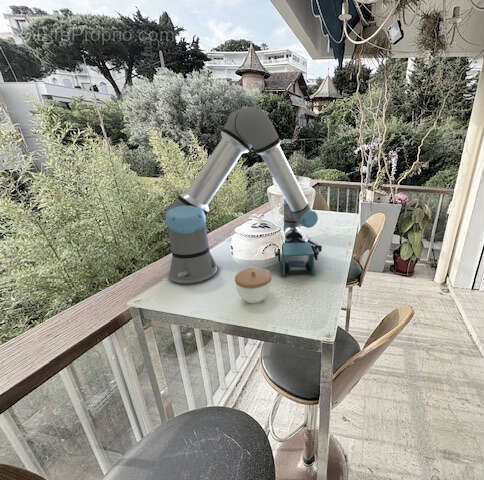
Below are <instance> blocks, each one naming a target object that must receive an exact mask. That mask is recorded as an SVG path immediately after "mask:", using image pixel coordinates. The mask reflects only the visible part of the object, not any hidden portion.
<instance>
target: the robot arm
mask: <svg viewBox="0 0 484 480" xmlns="http://www.w3.org/2000/svg"><path fill="white" fill-rule="evenodd" d="M220 136H221V140H220V141H219V142H218V144H217V146H216V147H215V148H214V150H213V152H212V153H211V154H210V156H209V158H208V159H207V161H206V162H205V163H204V165H203V166H202V168H201V170H200V171H199V173H198V174H197V175H196V177H195V179H194V180H193V182H192V183H191V184H190V185H189V188H188V189H187V191H186V192H181V193H179V194H178V196H177V198H175V200H174V201H173V202H172V203H170V205H168V207H167V208H166V210H165V214H164V217H165V218H164V220H165V225H166V227H167V234H168V239H169V244H170V250H171V255H172V257H171V263H170V268H169V278H170V280H171V281H172V282H173V283H176V284H181V285H191V284H197V283H202V282H205V281H207V280H209V279H211V278H213V277H215V276H216V274H217V272H218V266H217V263H216V261H215V260H214V257H213V256H212V253H211V252H210V245H209V236H208V230H207V228H208V227H207V218H206V217H207V215H208V213H209V212H210V208H209V204H210V203H211V202H212V200H213V199H214V196H216V194H217V193H218V191H219V189H220V188H221V186H222V185H223V183H224V182H225V180H226V179H227V177H228V176H229V174H230V173H231V171H232V170H233V168H234V167H235V166H236V164H237V162H238V161H239V159H240V158H241V156H242V155H243V154H246V153H249V152H250V150H251V149H252V148H253V149H254V152H255V153H256V154H257V155H260V157H261V158H262V161H263V162H264V163H265V165H266V167H267V169H268V171H269V173H270V174H271V176H272V178H273V180H274V182H275V183H276V185H277V187H278V190H279V191H280V193H281V194H282V196H283V205H282V206H283V232H284V241H285V243H310V244H311V246H312V249H313V252H314V261H318V258H319V257H318V256H319V255H320V253H321V252H322V250H323V245H322V244H320V243H318V242H317V241H315V240H313V239H312V238H311V237H308V238H307V239H304V237H303V233H302V231H301V226H302V227H304V228H307V229H310V228H313V227H314V226H316V224H317V223H318V220H319V216H318V214H317V212H316V211H315V210H314V209H312V207H311V206H310V204H309V202H308V200H307V198H306V196H305V195H304V192H303V190H302V188H301V186H300V184H299V182H298V180H297V178H296V176H295V174H294V172H293V170H292V168H291V166H290V164H289V161H288V160H287V158H286V156H285V154H284V151H283V150H282V147H281V146H280V145H281V139H280V137H279V135H278V132H277V130H276V129H275V127H274V124H273V123H272V121H271V120H270V118H269V117H268V115H267V114H266V113H265V111H263V110H262V109H260V108H259V107H256V106H247V107H244V108H243V107H242V108H237V109H235V110H233V111H232V112H231V113H230V114H229V115H228V116H227V119H226V124H225V125H224V127H223V128H222V130H221V131H220ZM274 256H275V257H277V261H278V262H279V263H281V252H280V249H278V251H277V252H275V253H274Z"/></svg>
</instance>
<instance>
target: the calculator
mask: <svg viewBox="0 0 484 480" xmlns="http://www.w3.org/2000/svg"><path fill="white" fill-rule="evenodd" d="M287 265H288V273H289V275H305V274H306V275H307V274H308V269H307V265H306V261H305V260H288V261H287Z"/></svg>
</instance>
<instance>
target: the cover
mask: <svg viewBox="0 0 484 480" xmlns="http://www.w3.org/2000/svg"><path fill="white" fill-rule="evenodd" d="M286 257H307V259H308V260H307V263H308V266H309V270H310V275H312V276H314V271H315V258H314V252H313V249H312V246H311V244H310V243H283V244H282V252H281V265H282V277H286V264H285V263H286Z"/></svg>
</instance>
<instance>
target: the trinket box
mask: <svg viewBox="0 0 484 480" xmlns="http://www.w3.org/2000/svg"><path fill="white" fill-rule="evenodd" d="M272 276H273V275H272V273H271V271H270V270H268V269H266V268H263V267H250V268H246V269H242V270H241V271H239V272H238V273H236V275H235V276H234V282H235V288H236V291H237V294H238V296H239V297H240V298H241V299H242V300H243V301H245V302H246V303H248V304H258V303H262V302H263V301H264V300H265V299H266V298H267V297H268V296H269V294H270V291H271V289H272V278H273V277H272Z"/></svg>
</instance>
